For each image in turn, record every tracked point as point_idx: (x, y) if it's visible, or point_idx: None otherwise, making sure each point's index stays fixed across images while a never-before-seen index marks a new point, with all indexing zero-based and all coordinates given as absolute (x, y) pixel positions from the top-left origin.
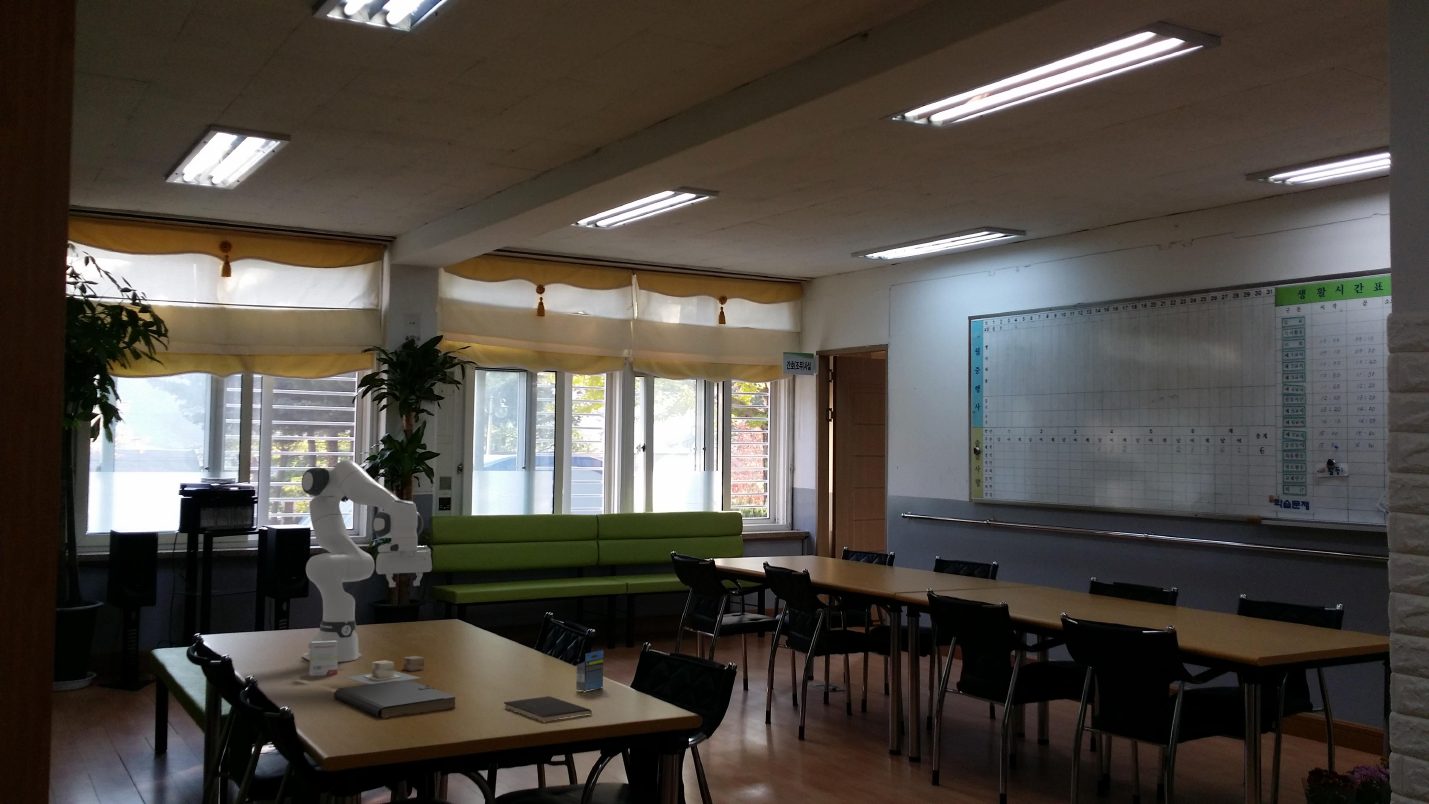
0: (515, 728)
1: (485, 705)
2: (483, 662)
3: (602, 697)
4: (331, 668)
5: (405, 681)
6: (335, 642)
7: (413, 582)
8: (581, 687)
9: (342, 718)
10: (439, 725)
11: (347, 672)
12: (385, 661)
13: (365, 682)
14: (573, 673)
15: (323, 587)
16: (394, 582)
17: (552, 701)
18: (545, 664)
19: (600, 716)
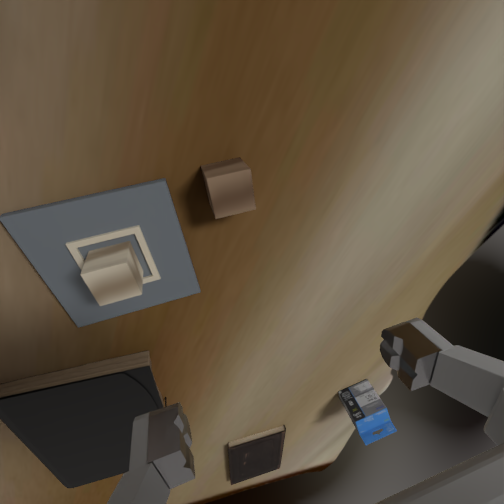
0: (198, 491)
1: (215, 433)
2: (416, 138)
3: (335, 414)
4: None
5: (139, 376)
6: None
7: (403, 348)
8: (341, 400)
9: (11, 476)
10: None
11: (14, 75)
12: (121, 278)
13: (64, 302)
14: (419, 305)
15: None
16: (182, 475)
17: (271, 448)
18: (460, 223)
19: (282, 463)
